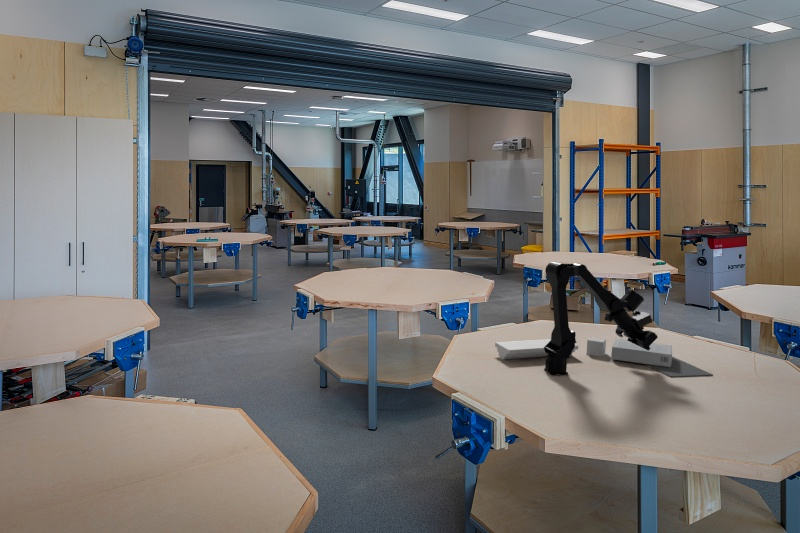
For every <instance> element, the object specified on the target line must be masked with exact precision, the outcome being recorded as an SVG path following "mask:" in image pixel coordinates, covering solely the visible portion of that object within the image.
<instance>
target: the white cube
mask: <svg viewBox="0 0 800 533" xmlns="http://www.w3.org/2000/svg"><path fill="white" fill-rule="evenodd" d="M586 343H587V344H586V354H585V355H589V356H594V357H600V358H602V357H604V355H605V354H606V348H607V339H606V338H601V337H600V338H599V337H593V336H591V337H589V338H588V339H587V341H586Z"/></svg>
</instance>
